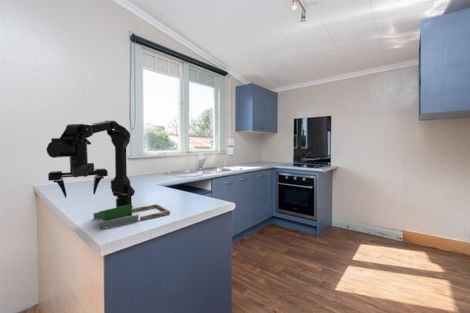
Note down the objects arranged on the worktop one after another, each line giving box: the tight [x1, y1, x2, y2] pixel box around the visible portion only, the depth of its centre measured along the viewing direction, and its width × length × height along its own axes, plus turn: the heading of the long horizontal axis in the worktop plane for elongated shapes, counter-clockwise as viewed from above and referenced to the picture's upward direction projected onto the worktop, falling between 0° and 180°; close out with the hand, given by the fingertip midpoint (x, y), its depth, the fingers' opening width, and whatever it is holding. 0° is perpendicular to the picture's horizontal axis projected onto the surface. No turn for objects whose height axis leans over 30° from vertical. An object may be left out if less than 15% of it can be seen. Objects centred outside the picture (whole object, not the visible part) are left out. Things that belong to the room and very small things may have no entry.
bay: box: [131, 203, 171, 221], centre depth 106 cm, size 13×16×2 cm
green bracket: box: [98, 204, 133, 222], centre depth 96 cm, size 12×6×9 cm, turn 140°
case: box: [92, 211, 140, 229], centre depth 96 cm, size 14×16×2 cm
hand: (80, 195), depth 88 cm, fingers open, 9 cm apart
